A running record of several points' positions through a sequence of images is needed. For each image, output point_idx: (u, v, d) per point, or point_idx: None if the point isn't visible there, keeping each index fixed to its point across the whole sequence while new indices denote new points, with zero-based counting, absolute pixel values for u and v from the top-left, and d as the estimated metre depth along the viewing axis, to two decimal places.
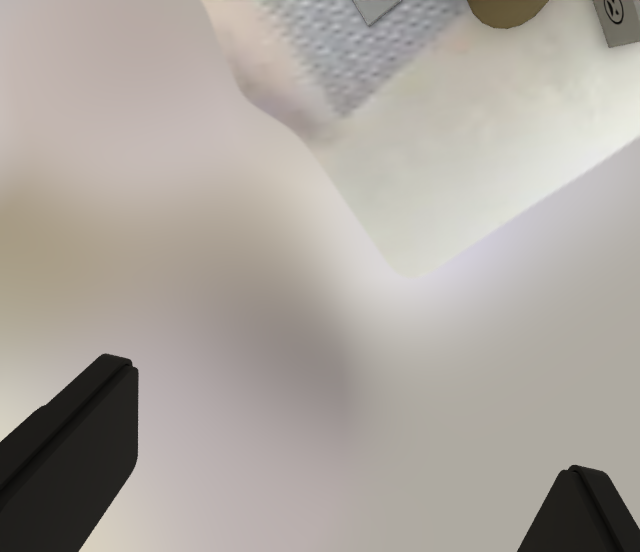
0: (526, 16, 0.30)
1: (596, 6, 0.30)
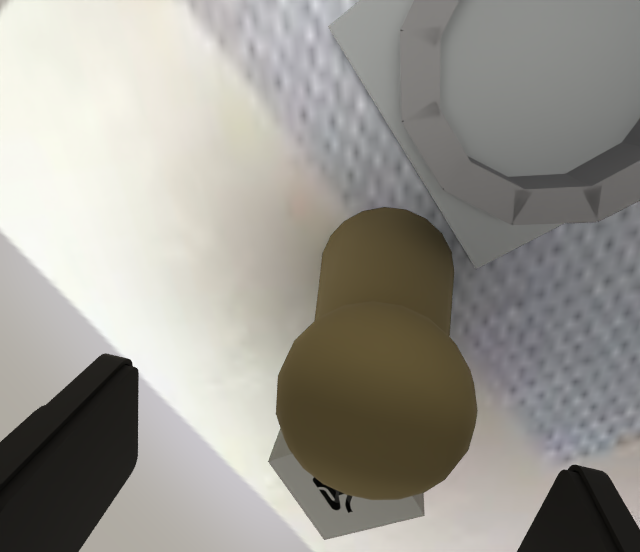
0: None
1: None
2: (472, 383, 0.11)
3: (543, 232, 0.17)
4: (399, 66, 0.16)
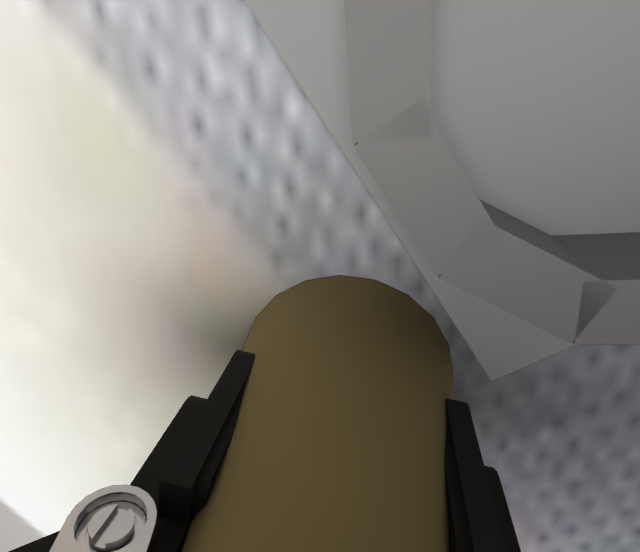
0: None
1: None
2: None
3: None
4: None
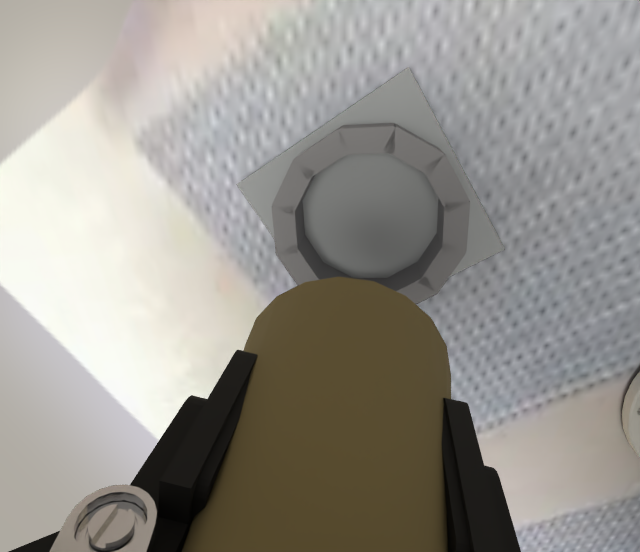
0: None
1: None
2: None
3: None
4: None
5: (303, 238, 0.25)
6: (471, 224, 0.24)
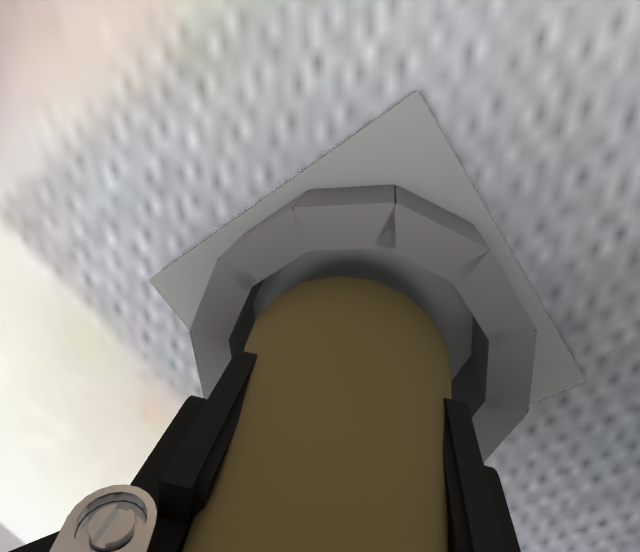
0: None
1: None
2: None
3: None
4: None
5: None
6: None
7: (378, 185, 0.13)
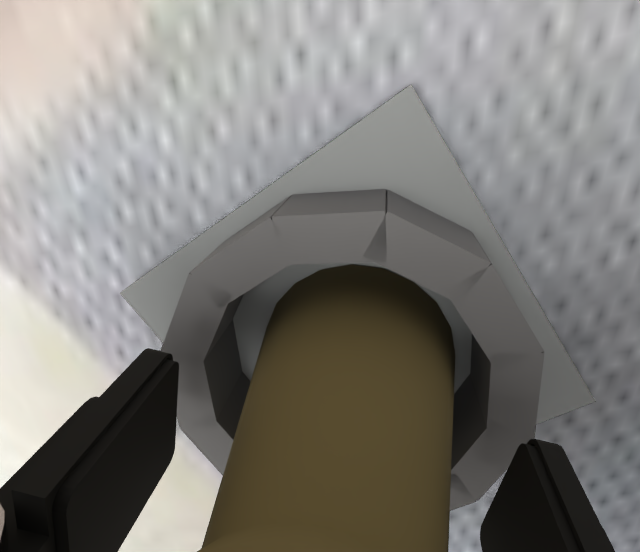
0: None
1: None
2: None
3: None
4: None
5: (236, 383, 0.14)
6: None
7: (368, 190, 0.12)
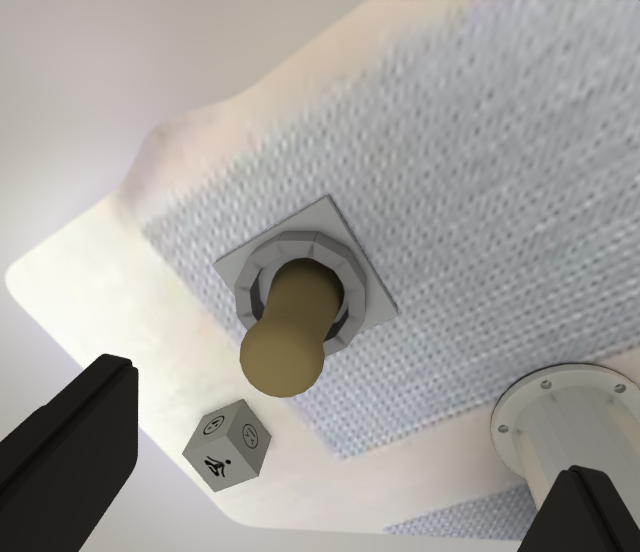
0: None
1: (225, 407, 0.42)
2: (320, 348, 0.26)
3: None
4: None
5: (258, 303, 0.36)
6: (374, 298, 0.35)
7: (311, 231, 0.33)
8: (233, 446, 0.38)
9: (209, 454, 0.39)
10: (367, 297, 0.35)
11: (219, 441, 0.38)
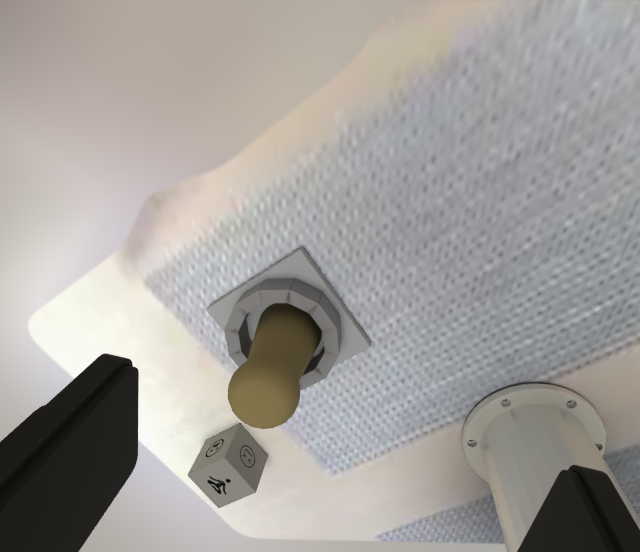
0: None
1: (225, 431, 0.47)
2: (294, 385, 0.31)
3: None
4: None
5: (247, 341, 0.41)
6: (348, 333, 0.40)
7: (289, 278, 0.38)
8: (231, 466, 0.43)
9: (211, 474, 0.43)
10: (342, 332, 0.40)
11: (218, 462, 0.43)
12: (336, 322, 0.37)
